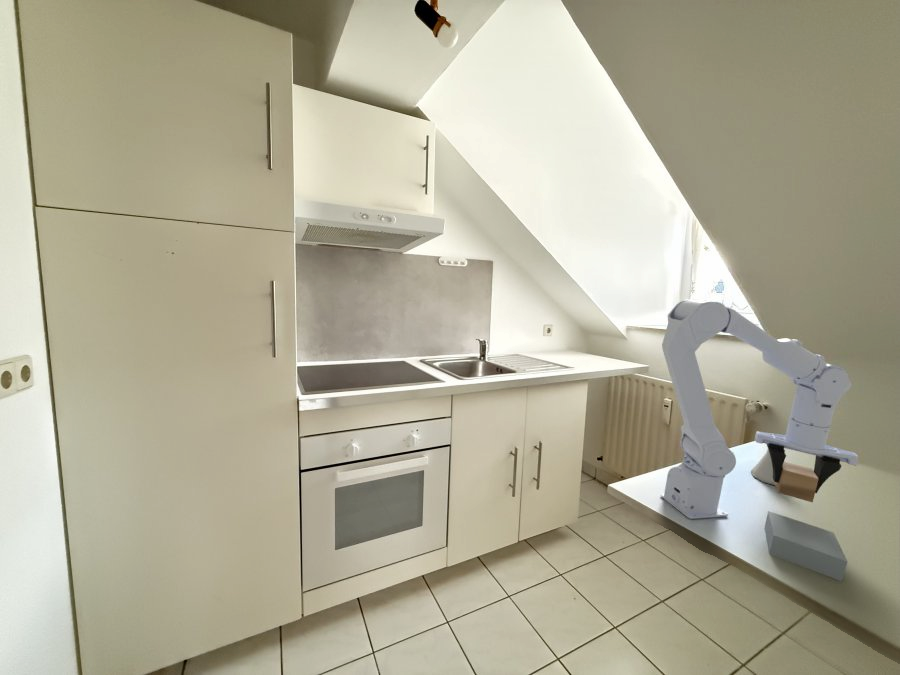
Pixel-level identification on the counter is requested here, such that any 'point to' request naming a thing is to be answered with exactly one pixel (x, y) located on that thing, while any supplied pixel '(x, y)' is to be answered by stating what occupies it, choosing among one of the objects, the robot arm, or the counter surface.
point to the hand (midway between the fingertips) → (793, 485)
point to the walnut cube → (797, 482)
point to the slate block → (805, 545)
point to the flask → (764, 469)
